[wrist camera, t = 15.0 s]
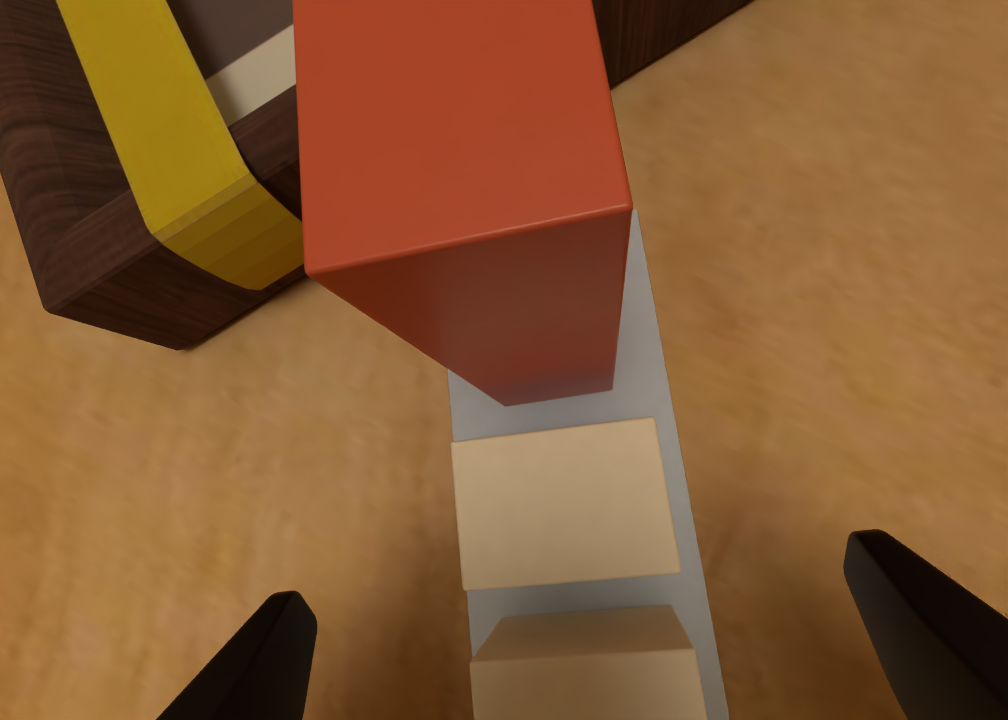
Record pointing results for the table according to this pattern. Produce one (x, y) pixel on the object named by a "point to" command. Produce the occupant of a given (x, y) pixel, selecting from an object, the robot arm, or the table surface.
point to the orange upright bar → (468, 184)
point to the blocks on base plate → (585, 544)
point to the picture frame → (186, 149)
